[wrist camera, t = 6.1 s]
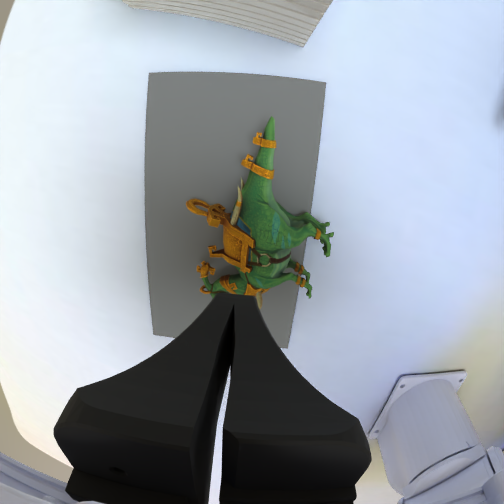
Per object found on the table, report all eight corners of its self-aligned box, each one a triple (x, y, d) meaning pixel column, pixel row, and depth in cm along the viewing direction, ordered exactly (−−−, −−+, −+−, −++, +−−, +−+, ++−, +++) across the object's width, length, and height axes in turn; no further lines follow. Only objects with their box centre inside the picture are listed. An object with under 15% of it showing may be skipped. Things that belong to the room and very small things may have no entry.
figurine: (294, 310, 22) (178, 282, 22) (355, 139, 17) (211, 100, 16) (295, 340, 19) (165, 309, 19) (370, 147, 14) (199, 101, 14)
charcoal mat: (287, 345, 23) (287, 348, 23) (154, 332, 23) (153, 334, 23) (324, 83, 16) (325, 82, 16) (150, 73, 16) (149, 72, 16)
